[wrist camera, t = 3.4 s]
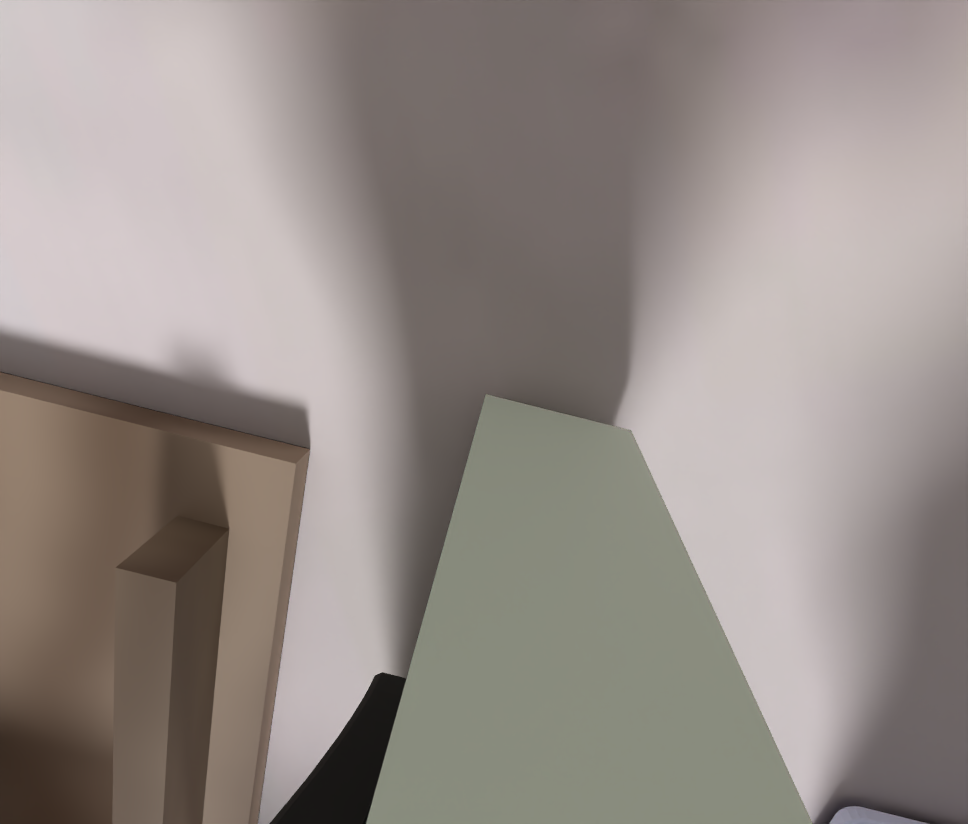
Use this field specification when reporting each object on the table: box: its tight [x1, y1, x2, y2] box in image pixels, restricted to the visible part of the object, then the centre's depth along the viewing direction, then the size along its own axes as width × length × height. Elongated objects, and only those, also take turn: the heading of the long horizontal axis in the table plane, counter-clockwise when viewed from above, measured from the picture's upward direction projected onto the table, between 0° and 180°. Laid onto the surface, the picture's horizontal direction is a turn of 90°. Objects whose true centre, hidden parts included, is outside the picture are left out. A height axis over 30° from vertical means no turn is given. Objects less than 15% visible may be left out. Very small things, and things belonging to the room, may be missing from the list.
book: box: [366, 394, 813, 824], centre depth 9 cm, size 3×11×9 cm, turn 167°
